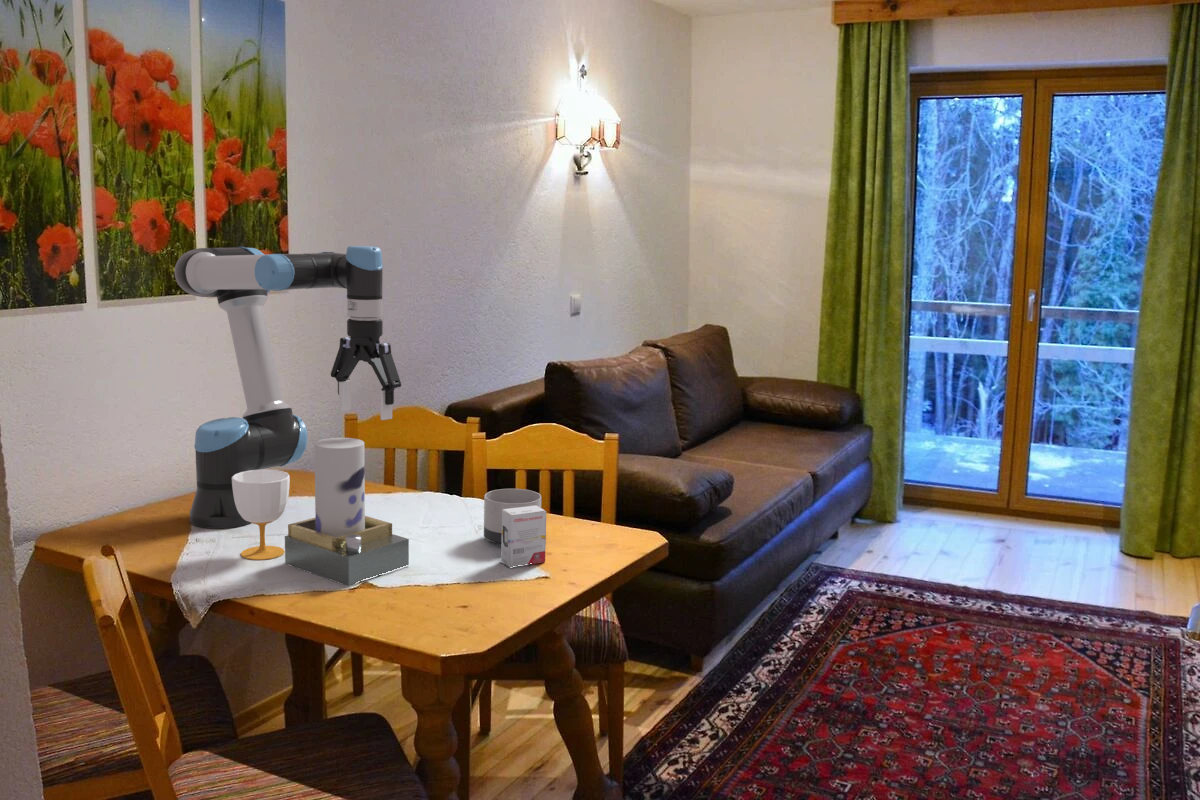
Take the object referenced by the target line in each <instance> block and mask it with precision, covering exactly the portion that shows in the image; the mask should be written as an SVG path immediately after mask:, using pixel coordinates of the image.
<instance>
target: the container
mask: <svg viewBox="0 0 1200 800" xmlns="http://www.w3.org/2000/svg"><path fill="white" fill-rule="evenodd" d="M365 464H366V463H365V441H363V440H362V439H358V438H354V437H353V438H352V437H330V438H324V439H319V440H317V441H315V442H314V500H315V503H314V505H315V507H314V508H315V509H314V510H315V517H316V531H317V532H320V533H323V534H327V535H330V536H333V537H340V536H343V535H347V534H350V533H354V532H357V531H361V530H365V516H366V513H365V512H366V509H365V506H366V503H365V501H366V497H365V495H366V493H365V490H366V489H365V488H366V487H365V486H366V482H365V479H366V478H365V472H366V471H365V467H366V466H365ZM315 517H314V518H315Z"/></svg>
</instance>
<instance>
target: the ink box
mask: <svg viewBox="0 0 1200 800" xmlns="http://www.w3.org/2000/svg"><path fill="white" fill-rule="evenodd" d="M546 536H547V511H546V510H545V509H544V508H542V507H541V508H540V507H538V506H537V505H535V506H527V507H518V508H509V509H502V539H501V545H500V547H501V548H500V552H501V554H500V561H501V563H502V564H504V563H505V564H506V565H505V564H504V565H505V566H507V567H508V566H509V567H513V566H518V565H525V564H530V563H532V565H536V564H541V563H545V562H546V546H547V544H546V540H547V537H546ZM509 567H508V568H509Z"/></svg>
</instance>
